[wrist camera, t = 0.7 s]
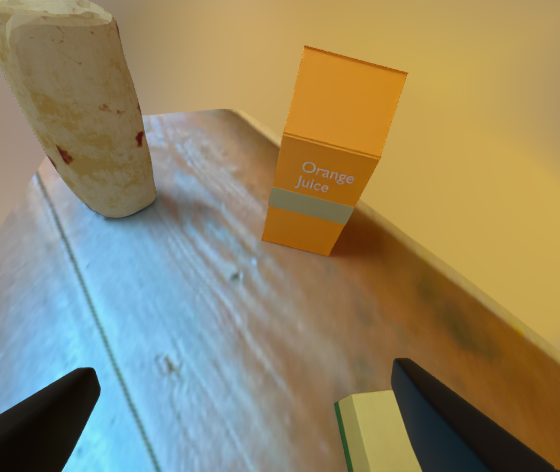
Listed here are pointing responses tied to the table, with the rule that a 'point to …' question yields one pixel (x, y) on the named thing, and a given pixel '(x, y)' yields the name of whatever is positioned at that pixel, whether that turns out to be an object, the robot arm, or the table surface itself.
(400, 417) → the sponge
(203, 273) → the table surface
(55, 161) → the food model
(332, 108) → the orange juice
